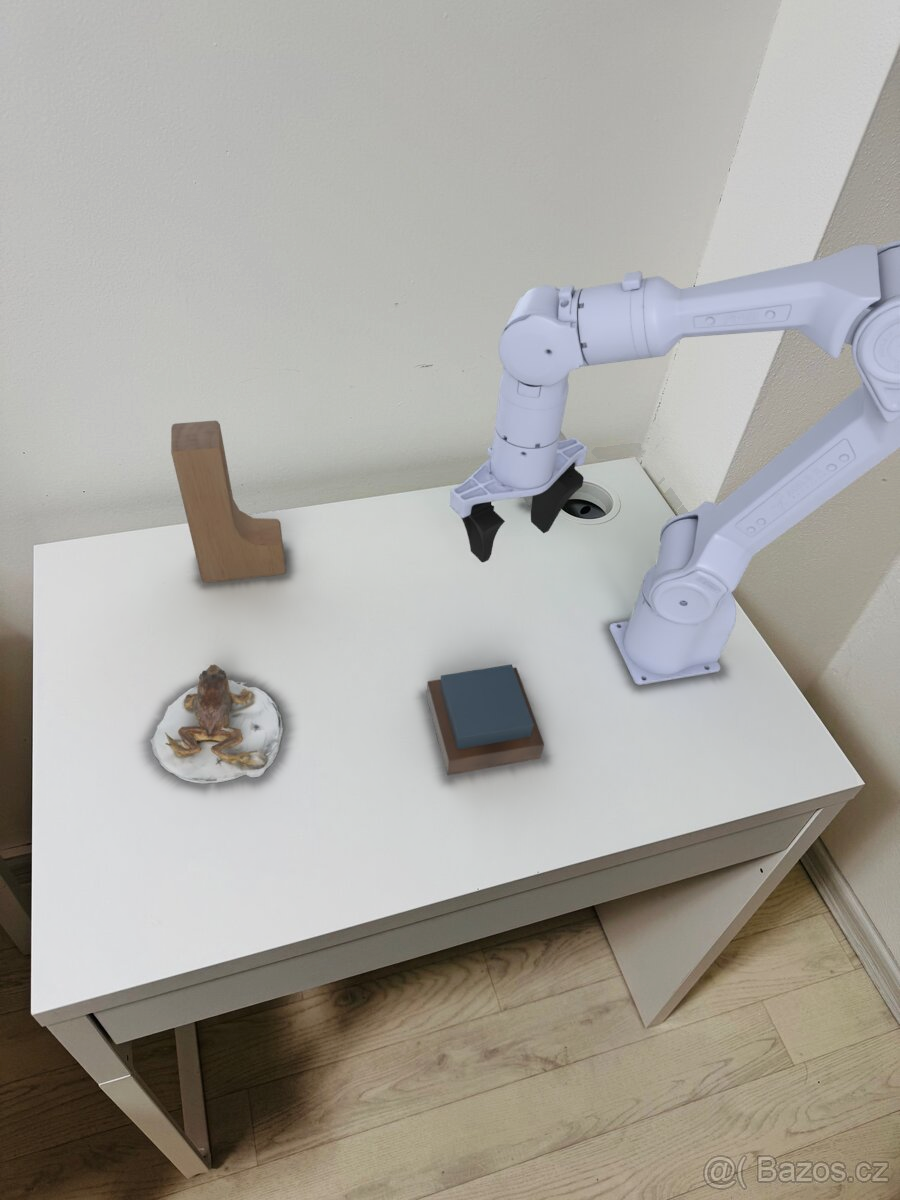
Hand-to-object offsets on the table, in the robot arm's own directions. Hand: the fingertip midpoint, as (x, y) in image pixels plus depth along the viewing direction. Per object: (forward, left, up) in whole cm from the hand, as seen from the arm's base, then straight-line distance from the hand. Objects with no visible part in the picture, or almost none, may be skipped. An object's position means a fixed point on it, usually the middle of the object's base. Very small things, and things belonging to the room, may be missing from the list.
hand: (510, 540), depth 83 cm
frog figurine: (+30, +10, -10) cm, 33 cm away
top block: (+6, +14, -8) cm, 17 cm away
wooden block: (+26, -11, -10) cm, 30 cm away
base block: (+6, +14, -10) cm, 18 cm away
